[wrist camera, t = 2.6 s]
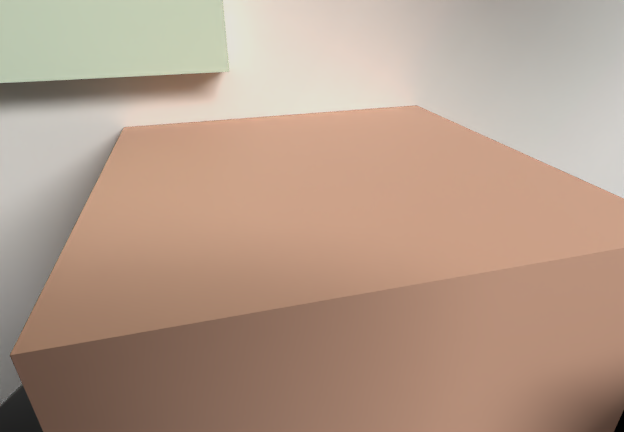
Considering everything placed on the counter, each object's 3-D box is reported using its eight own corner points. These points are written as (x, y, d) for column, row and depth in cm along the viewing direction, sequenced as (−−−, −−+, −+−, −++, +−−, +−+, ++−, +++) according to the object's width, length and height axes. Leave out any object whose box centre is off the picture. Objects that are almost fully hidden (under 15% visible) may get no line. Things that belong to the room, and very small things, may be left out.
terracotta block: (396, 321, 12) (554, 562, 7) (174, 364, 11) (162, 703, 6) (416, 105, 9) (702, 234, 4) (123, 127, 8) (9, 355, 3)
